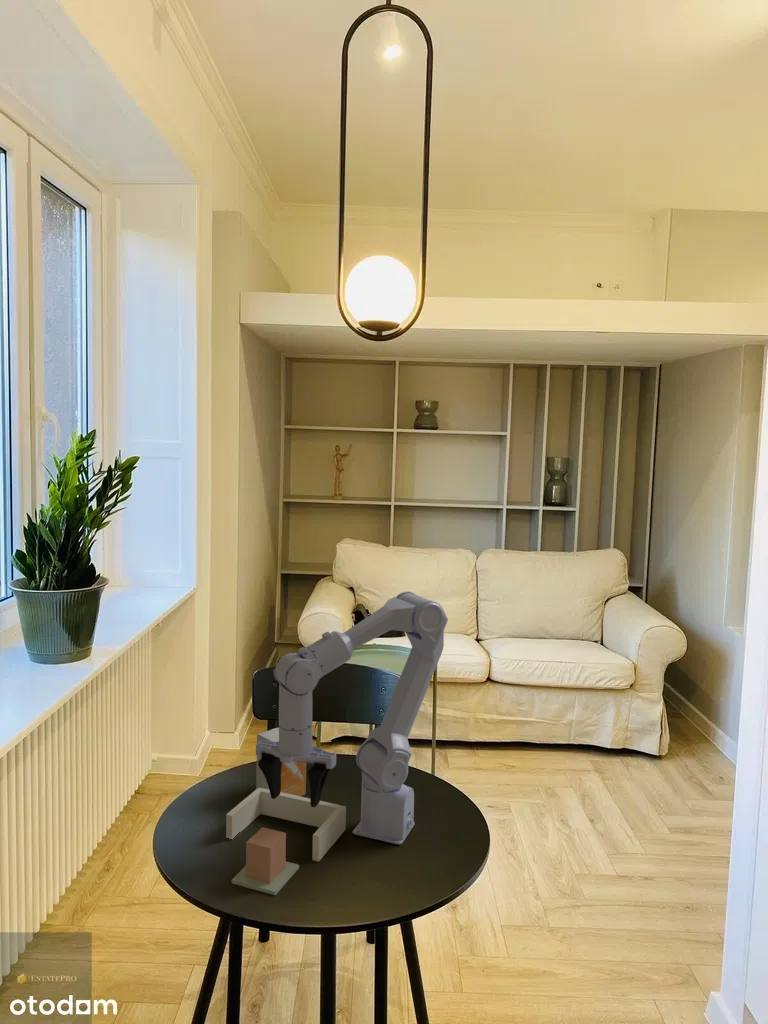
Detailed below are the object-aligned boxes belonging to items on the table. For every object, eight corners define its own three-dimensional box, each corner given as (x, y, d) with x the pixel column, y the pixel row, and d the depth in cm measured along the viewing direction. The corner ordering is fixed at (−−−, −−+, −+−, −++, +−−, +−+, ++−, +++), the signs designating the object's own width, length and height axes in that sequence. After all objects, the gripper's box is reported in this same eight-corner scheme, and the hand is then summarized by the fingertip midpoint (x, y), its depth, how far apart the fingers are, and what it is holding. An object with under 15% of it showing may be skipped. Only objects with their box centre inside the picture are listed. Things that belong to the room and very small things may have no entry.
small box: (273, 807, 142) (274, 743, 141) (255, 796, 146) (255, 733, 145) (306, 794, 147) (307, 732, 146) (288, 783, 152) (288, 723, 151)
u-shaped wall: (345, 829, 134) (345, 806, 134) (318, 861, 124) (319, 836, 124) (258, 809, 141) (258, 787, 140) (226, 838, 131) (226, 814, 130)
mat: (298, 868, 122) (299, 864, 122) (275, 895, 115) (275, 891, 114) (257, 857, 125) (257, 854, 125) (231, 883, 117) (231, 879, 117)
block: (285, 867, 121) (285, 833, 121) (270, 884, 116) (270, 848, 116) (262, 861, 123) (262, 827, 122) (245, 877, 118) (246, 842, 118)
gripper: (246, 726, 124) (246, 803, 125) (324, 740, 119) (323, 819, 120) (267, 712, 130) (267, 785, 131) (341, 724, 125) (340, 799, 126)
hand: (295, 800), depth 126 cm, fingers open, 7 cm apart
